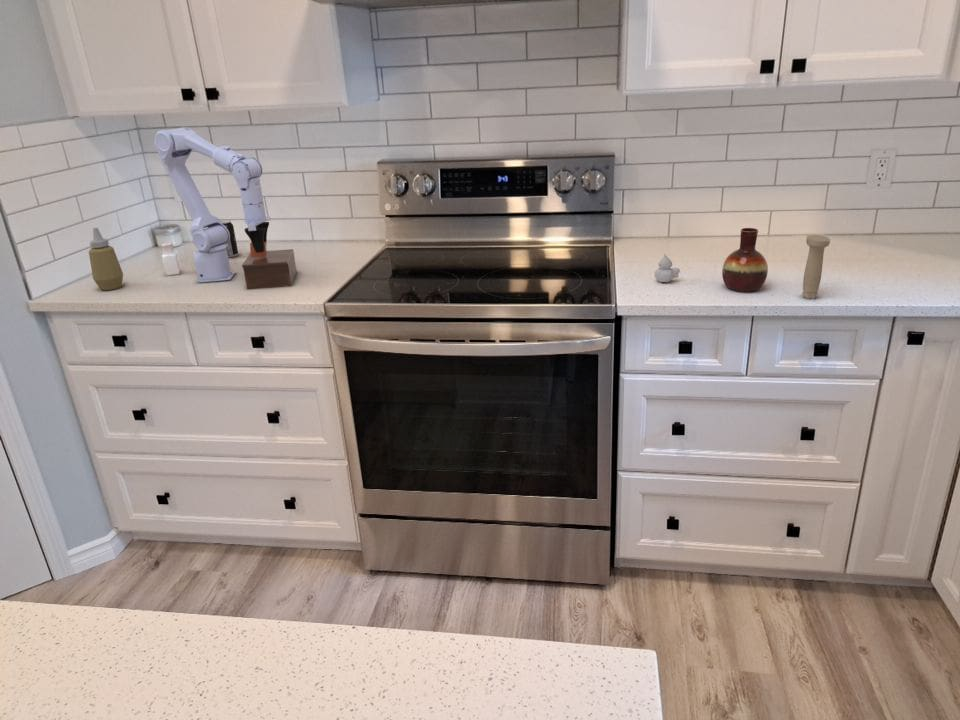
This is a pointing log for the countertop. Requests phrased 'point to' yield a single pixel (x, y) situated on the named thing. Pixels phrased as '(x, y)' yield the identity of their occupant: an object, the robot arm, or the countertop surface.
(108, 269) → the squeeze bottle
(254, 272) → the chest
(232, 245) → the black upright box
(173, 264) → the pepper shaker
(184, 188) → the robot arm
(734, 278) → the vase
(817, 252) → the handle
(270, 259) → the chest lid
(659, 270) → the grey rounded figurine
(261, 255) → the block
